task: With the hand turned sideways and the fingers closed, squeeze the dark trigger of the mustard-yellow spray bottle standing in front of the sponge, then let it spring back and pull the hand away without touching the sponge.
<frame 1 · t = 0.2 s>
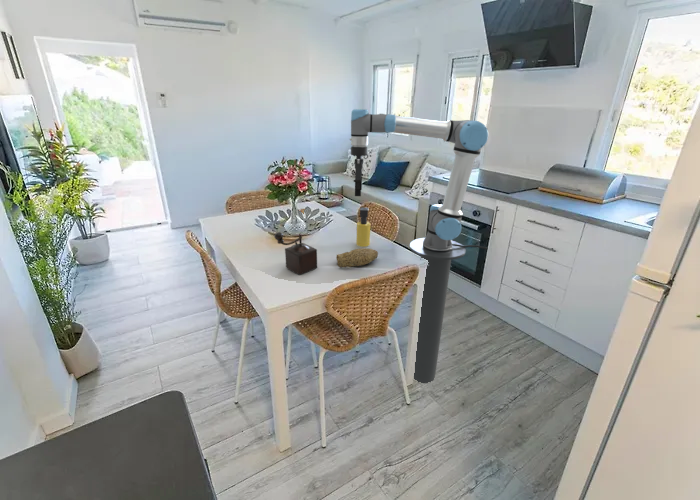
hand: (358, 192, 165), 30 cm above the table, tool pointing down, fingers open, 13 cm apart
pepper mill: (296, 269, 156), on the table
sponge: (357, 263, 163), on the table
spray bottle: (362, 245, 185), on the table
tin: (300, 223, 218), on the table
trigger: (363, 216, 185), point 14 cm above the table, slide at -0.1 cm
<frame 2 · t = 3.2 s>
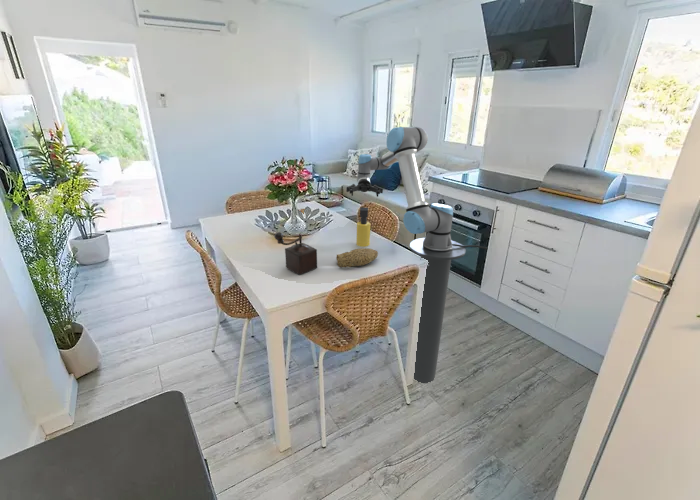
hand: (364, 193, 186), 25 cm above the table, tool horizontal, fingers open, 13 cm apart
nothing on the table moved.
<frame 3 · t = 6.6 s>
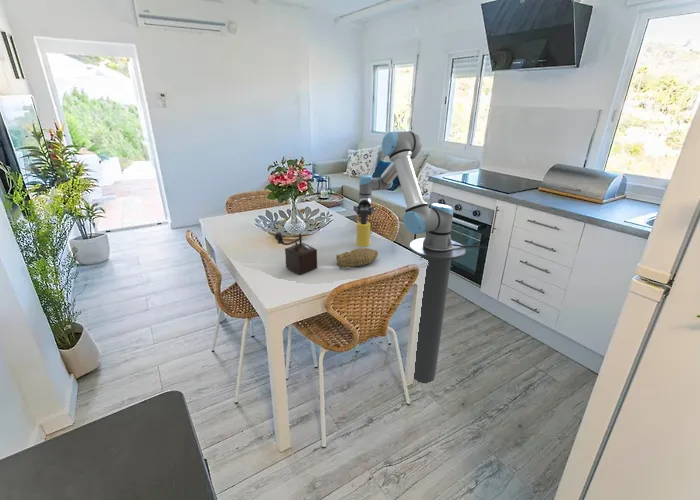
hand: (363, 216, 185), 14 cm above the table, tool horizontal, fingers closed
trigger: (363, 216, 185), point 14 cm above the table, slide at 0.3 cm, touching gripper
everything else where it was.
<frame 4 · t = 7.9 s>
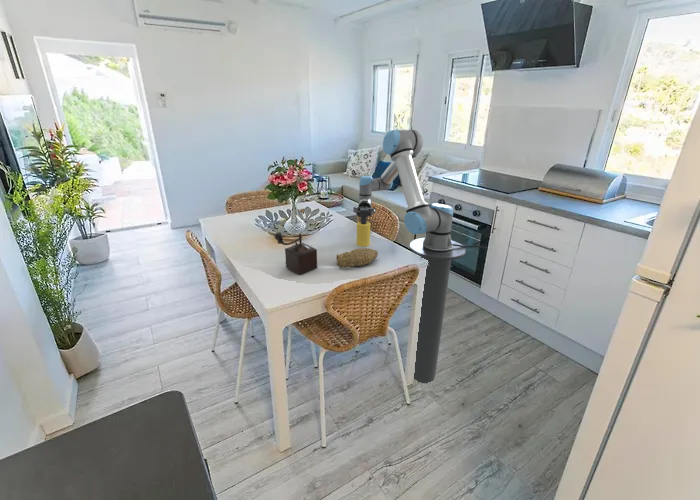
hand: (363, 218, 182), 14 cm above the table, tool horizontal, fingers closed
trigger: (363, 218, 182), point 14 cm above the table, slide at 3.3 cm, touching gripper
everything else where it was.
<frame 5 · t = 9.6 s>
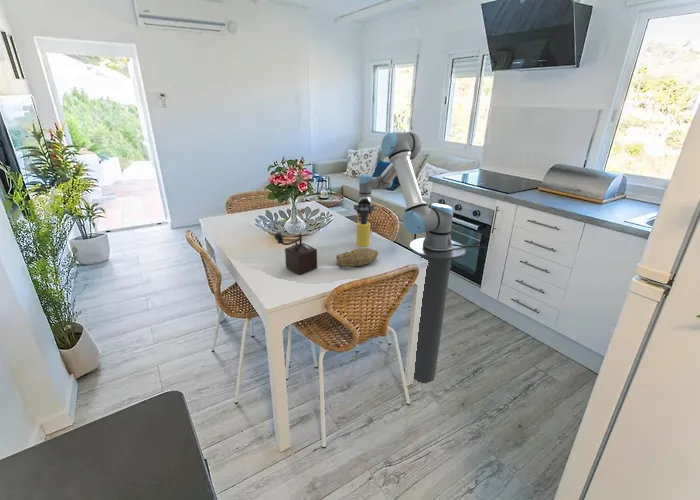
hand: (364, 215, 187), 14 cm above the table, tool horizontal, fingers closed
trigger: (363, 216, 185), point 14 cm above the table, slide at -0.1 cm
everything else where it was.
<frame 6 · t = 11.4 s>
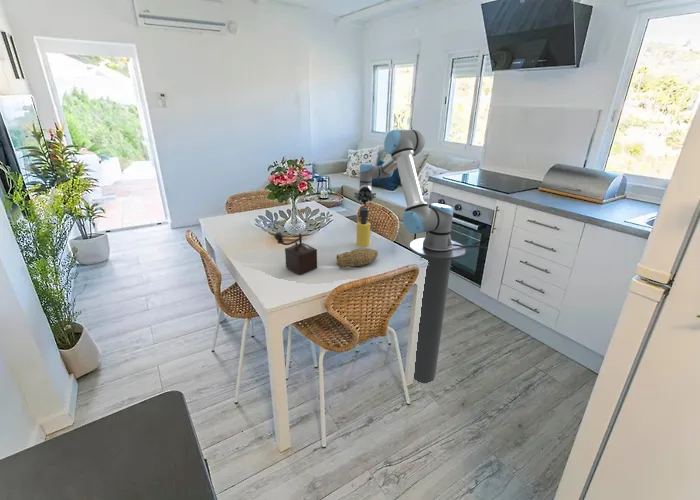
hand: (364, 201, 187), 21 cm above the table, tool horizontal, fingers closed
nothing on the table moved.
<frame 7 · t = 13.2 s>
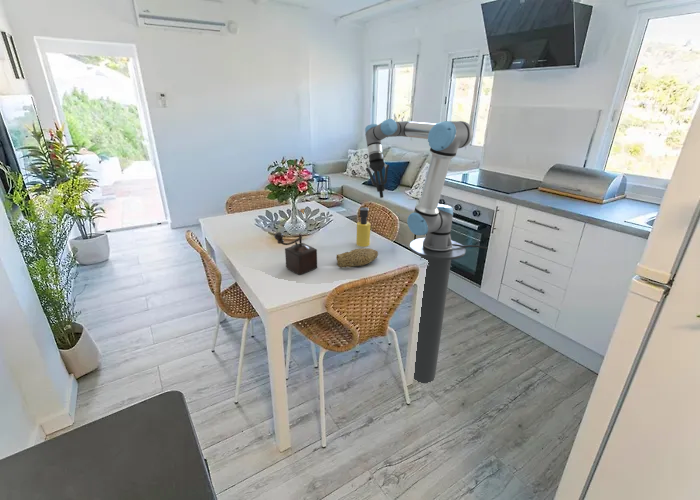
hand: (381, 197, 187), 23 cm above the table, tool tilted 25°, fingers closed
nothing on the table moved.
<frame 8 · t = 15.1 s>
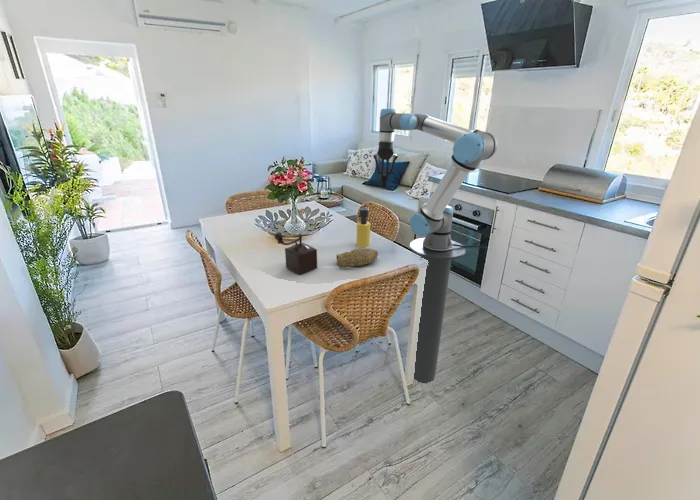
hand: (383, 187, 187), 28 cm above the table, tool pointing down, fingers closed
nothing on the table moved.
at the end: trigger pulled out 3.3 cm at the most during the clip, back to where it started at the end; trigger slide at -0.1 cm; sponge moved 0.2 cm from its start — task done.
